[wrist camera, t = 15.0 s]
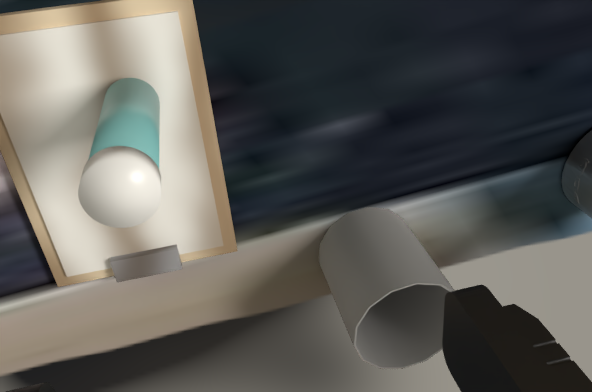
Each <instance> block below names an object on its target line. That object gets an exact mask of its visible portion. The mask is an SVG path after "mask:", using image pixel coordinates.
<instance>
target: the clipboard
mask: <svg viewBox="0 0 592 392" xmlns="http://www.w3.org/2000/svg"><path fill="white" fill-rule="evenodd" d="M123 78H137V79H141V80H143V81H145V82H147V83H148V84H149V85H151V86H152V87H153V88H154V90H155V91H156V93H157V95H158V97H159V102H160V135H159V171H160V174H161V202H160V205H159V207H158V209H157V211H156V212H155V213H154V215H153V216H152V217H151V218H149V219H148V220H147V221H145V222H143V223H141V224H139V225H136V226H133V227H127V228H115V227H109V226H106V225H103V224H101V223H99V222H97V221H95V220H94V219H92V218H91V217H90V216H89V215H88V214H87V213H86V212H85V211H84V209H83V208H82V206H81V204H80V201H79V197H78V188H79V184H80V180H81V176H82V172H83V169H84V167H85V164H86V163H87V161H88V159H89V155H90V151H91V147H92V144H93V140H94V136H95V132H96V128H97V125H98V121H99V117H100V113H101V109H102V106H103V102H104V98H105V94H106V92H107V90H108V88H109V87H110V86H111V85H112V84H113V83H114V82H116V81H118V80H120V79H123ZM0 151H1V153H2V156H3V158H4V160H5V163H6V165H7V168H8V170H9V172H10V175H11V177H12V179H13V182H14V184H15V186H16V189H17V191H18V193H19V196H20V198H21V200H22V203H23V205H24V208H25V210H26V212H27V215H28V217H29V219H30V222H31V224H32V226H33V229H34V231H35V233H36V236H37V238H38V241H39V243H40V245H41V248H42V250H43V252H44V255H45V257H46V259H47V262H48V264H49V266H50V269H51V271H52V273H53V276H54V278H55V281H56V283H57V285H58V287H61V286H66V285H71V284H76V283H81V282H86V281H91V280H96V279H101V278H106V277H111V276H115V278H116V281H117V282H122V281H126V280H131V279H136V278H141V277H146V276H151V275H156V274H161V273H166V272H171V271H176V270H181V269H182V263H181V262H186V261H191V260H196V259H201V258H206V257H211V256H216V255H221V254H226V253H231V252H236V251H237V246H236V240H235V235H234V229H233V223H232V218H231V212H230V207H229V201H228V196H227V190H226V185H225V179H224V173H223V168H222V162H221V157H220V151H219V146H218V140H217V134H216V129H215V123H214V118H213V112H212V107H211V101H210V96H209V90H208V84H207V79H206V73H205V68H204V62H203V57H202V51H201V45H200V40H199V34H198V29H197V23H196V18H195V12H194V7H193V1H192V0H103V1H96V2H88V3H80V4H72V5H65V6H57V7H49V8H41V9H33V10H26V11H18V12H10V13H2V14H0Z"/></svg>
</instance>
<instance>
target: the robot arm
mask: <svg viewBox="0 0 592 392" xmlns="http://www.w3.org/2000/svg"><path fill="white" fill-rule="evenodd" d="M562 188H563V191H564V194H565V196H566V197H567V198H568V199H569V201H570V202H572V203H573V204H574V205H575V206H577V207H578V208H579V209H581V210H582V211H583V212H584V213H586V214H587V215H588V216H590V217H591V218H592V130H591V131H590V132H589V133H587V134H586V135H585V136H584V137H583V138H582V139H581V140H580V141H579V142H578V143H577V145H576V146H575V148H574V149H573V150H572V152H571V153H570V155H569V157H568V159H567V161H566V163H565V166H564V169H563V173H562ZM442 347H443V353H444V357H445V360H446V364H447V366H448V369H449V370H450V372H451V374H452V376H453V378H454V380H455V381H456V383H457V385H458V387H459V388H460V390H461V392H592V382H591V381H590V380H589V378H588V377H587V376H586V375H585V374H584V373H583V371H582V370H581V369H580V368H579V367H578V365H577V364H576V363H575V362H574V361H571V360H570V356H569V355H568V354H567V352H566V351H565V350H564V349H563V348H562V347H561V345H560V344H557V343H556V341H555V338H554V337H553V336H552V335H551V334H550V332H549V331H548V330H547V329H546V328H545V327H544V325H543V324H542V323H541V322H540V321H539V319H537V318H536V317H534V316H533V315H531V314H529V313H528V312H526V311H525V310H523V309H522V308H520V307H518V306H517V305H515V304H512V305H507V306H503V307H502V306H501V304H500V303H499V302H498V301H497V299H496V298H495V297H494V296H493V294H492V293H491V292H490V290H489V289H488V288H487V287H486V286H484V285H478V286H474V287H469V288H465V289H460V290H456V291H451V292H448V293H446V295H445V302H444V320H443V338H442ZM6 392H55V391H54V389H53V387H52V386H51V384H49V383H47V382H46V383H41V384H37V385H32V386H28V387H24V388H19V389H15V390H10V391H6Z"/></svg>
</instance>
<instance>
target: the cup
mask: <svg viewBox="0 0 592 392" xmlns="http://www.w3.org/2000/svg"><path fill="white" fill-rule="evenodd" d="M319 263H320V266H321V268H322V271H323V273H324V276H325V278H326V280H327V283H328V285H329V288H330V290H331V292H332V295H333V297H334V300H335V302H336V304H337V306H338V309H339V311H340V314H341V316H342V318H343V321H344V323H345V326H346V328H347V331H348V333H349V335H350V338H351V340H352V343H353V345H354V347H355V349H356V350H357V352H358V354H359V355H360V357H361V358H362V360H363V361H364V362H366V363H369V364H371V365H373V366H375V367H378V368H380V369H403V368H406V367H409V366H412V365H415V364H418V363H421V362H424V361H426V360H428V359H429V358H431V357H432V356H433V355H435V354H436V353H438V352H439V351H441V350H442V349H443V347H442V338H443V320H444V302H445V295H446V293H448V292H451V291H455V290H454V289H453V288H452V286H451V285H450V283H449V282H448V281H447V279H446V278H445V276H444V275H443V274H442V272H441V271H440V269H439V268H438V267H437V265H436V264H435V263H434V261H433V260H432V258H431V257H430V256H429V254H428V253H427V251H426V250H425V249H424V247H423V246H422V244H421V243H420V242H419V240H418V239H417V238H416V236H415V235H414V233H413V232H412V231H411V229H410V228H409V226H408V225H407V224H406V222H405V221H404V219H403V218H401V217H400V216H398V215H397V214H395V213H394V212H392V211H391V210H389V209H384V208H374V207H367V208H363V209H360V210H357V211H354V212H350V213H347V214H346V215H345V216H343V217H342V218H341V219H339V220H338V221H337V222H335V223H334V224H333V225H332V226H330V227H329V229H328V231H327V232H326V234H325V236H324V238H323V239H322V241H321V243H320V247H319Z"/></svg>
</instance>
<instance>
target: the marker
mask: <svg viewBox="0 0 592 392" xmlns="http://www.w3.org/2000/svg"><path fill="white" fill-rule="evenodd" d="M159 135H160V102H159V97H158V95H157V93H156V91H155V90H154V88H153V87H152V86H151V85H149V84H148V83H147V82H145V81H143V80H141V79H137V78H123V79H120V80H118V81H116V82H114V83H113V84H112V85H111V86H110V87H109V88H108V90H107V92H106V94H105V98H104V102H103V106H102V109H101V113H100V117H99V121H98V125H97V128H96V132H95V136H94V140H93V144H92V147H91V151H90V155H89V159H88V161H87V163H86V164H85V167H84V169H83V172H82V176H81V180H80V184H79V188H78V197H79V201H80V204H81V206H82V208H83V209H84V211H85V212H86V213H87V214H88V215H89V216H90V217H91V218H92V219H94V220H95V221H97V222H99V223H101V224H103V225H106V226H109V227H115V228H127V227H133V226H136V225H139V224H141V223H143V222H145V221H147V220H148V219H149V218H151V217H152V216H153V215H154V213H155V212H156V211H157V209H158V207H159V205H160V202H161V174H160V171H159Z"/></svg>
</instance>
